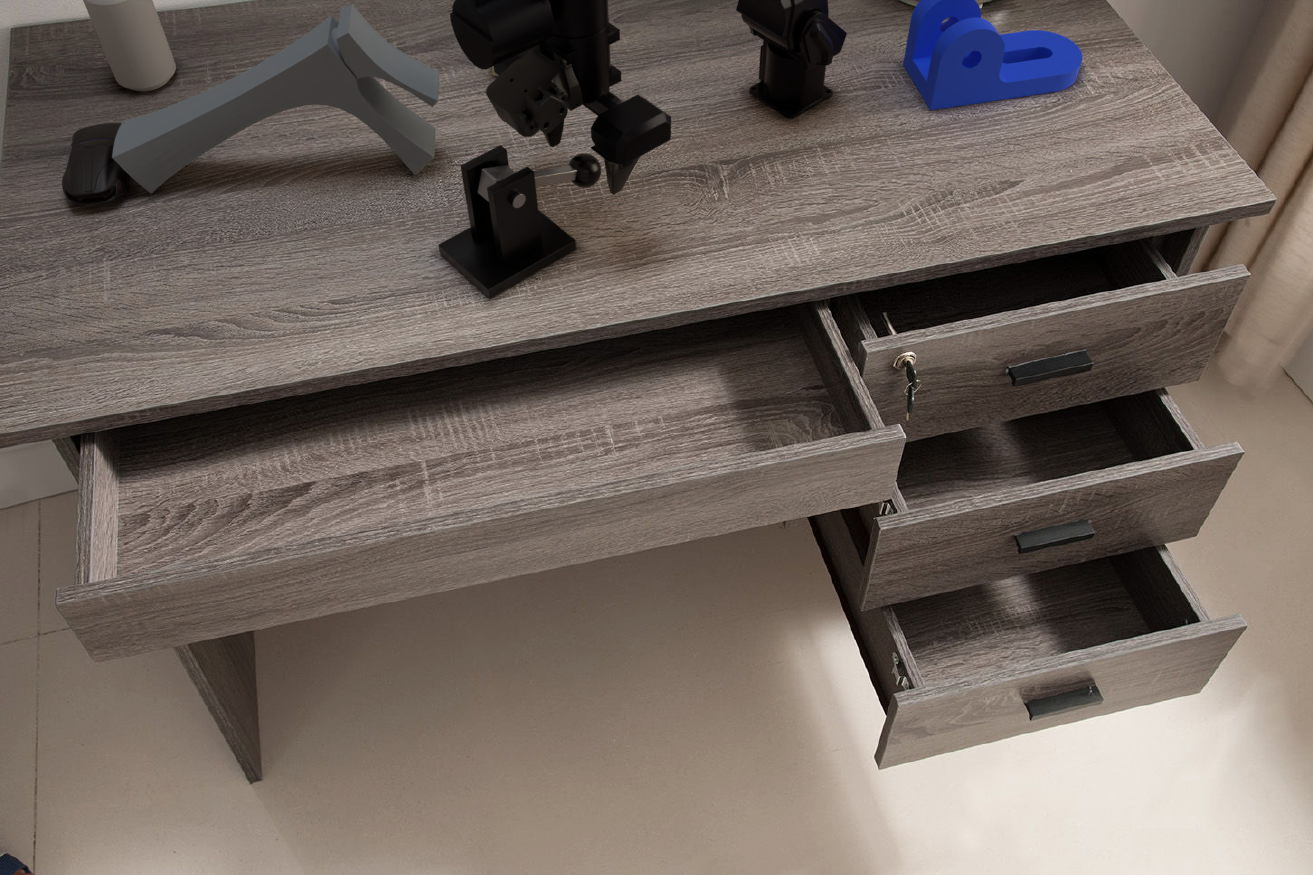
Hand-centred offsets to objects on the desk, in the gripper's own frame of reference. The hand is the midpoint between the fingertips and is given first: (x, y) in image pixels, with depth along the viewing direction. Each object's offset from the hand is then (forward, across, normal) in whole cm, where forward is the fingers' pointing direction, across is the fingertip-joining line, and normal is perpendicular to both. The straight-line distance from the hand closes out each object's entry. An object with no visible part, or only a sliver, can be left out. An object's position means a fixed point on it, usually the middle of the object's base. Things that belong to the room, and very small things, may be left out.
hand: (584, 168), depth 115 cm
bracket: (+5, +12, +46) cm, 48 cm away
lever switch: (+5, 0, -10) cm, 11 cm away
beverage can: (+5, -48, -22) cm, 53 cm away
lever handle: (0, 0, -5) cm, 5 cm away
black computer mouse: (+5, -36, -33) cm, 49 cm away
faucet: (+5, -24, -18) cm, 31 cm away
